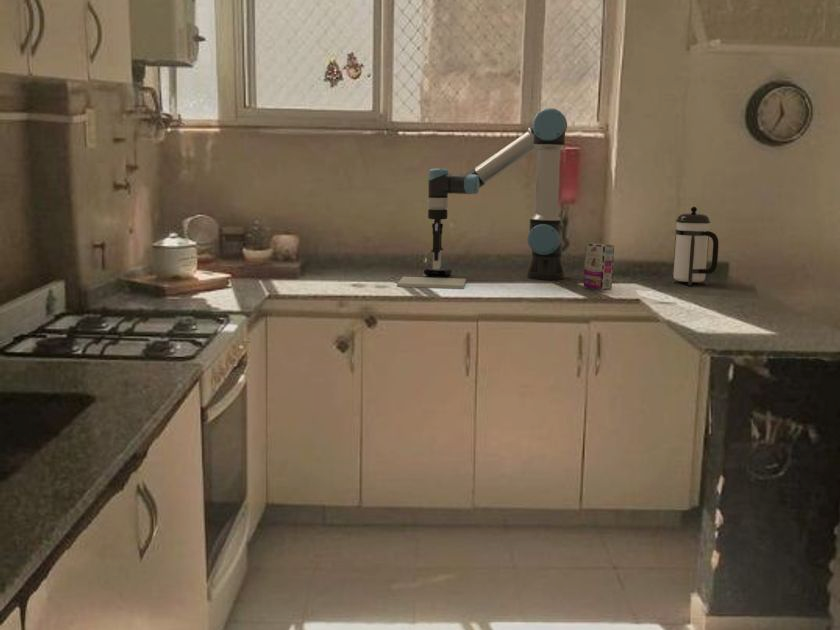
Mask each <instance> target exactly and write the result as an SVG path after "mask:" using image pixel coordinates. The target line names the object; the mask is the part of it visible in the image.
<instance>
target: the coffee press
mask: <svg viewBox="0 0 840 630" xmlns="http://www.w3.org/2000/svg"><path fill="white" fill-rule="evenodd" d="M690 211H691V212H690V213H687V212H686V213H681V214H679V215H678V216H677V217H676V219H675V223H676V228H675V234H674V250H673V251H674V253H673V265H672V271H673V273H672V276H671V278H670V279H669V280H668V281H669V283H671V282H670V281H671V280H672V279H674V280H673V281H672V283H674V282H686V283H687V286H688V287H693V283H703V284H704V285H707V286H708V285H709V283H710V282H709V281H708V279H707V275H708V274H709V275H710V274H713V273H714V272H715V271H716V269H717V266H718V261H719V260H718V257H719V238H718V236H717V235H716V233H714V232H713V231H710V224H711V220H710V217H709V216H708V215H706V214H703V213H697V211H698V208H697V207H696V206H692V207H691V208H690ZM709 238H710V239H711V240H712V243H713V244H712V254H711V256H712V257H711V266H710V267H709V269H707V267H708V255H709V243H710V242H709V241H710V239H709ZM705 280H707V283H705V282H704V281H705Z"/></svg>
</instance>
